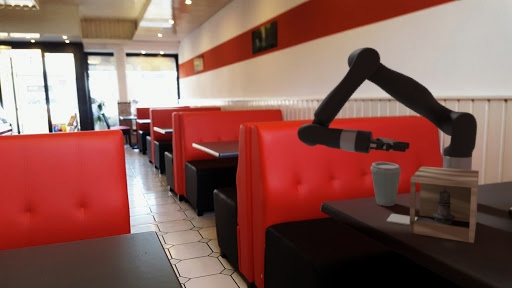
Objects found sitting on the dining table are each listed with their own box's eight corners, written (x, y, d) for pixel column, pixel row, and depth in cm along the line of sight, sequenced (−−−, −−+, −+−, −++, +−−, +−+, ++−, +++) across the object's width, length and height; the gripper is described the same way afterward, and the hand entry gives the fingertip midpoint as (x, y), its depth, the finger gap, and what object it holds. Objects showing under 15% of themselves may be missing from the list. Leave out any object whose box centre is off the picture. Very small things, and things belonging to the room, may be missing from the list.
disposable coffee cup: (406, 204, 136) (407, 164, 134) (388, 209, 130) (389, 167, 128) (382, 198, 145) (382, 160, 143) (363, 203, 139) (364, 163, 137)
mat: (391, 214, 125) (391, 213, 125) (417, 218, 120) (417, 217, 120) (386, 221, 118) (386, 220, 118) (413, 225, 114) (413, 224, 114)
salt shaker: (457, 230, 108) (459, 190, 107) (435, 230, 110) (437, 190, 108) (451, 224, 114) (452, 186, 113) (430, 223, 115) (431, 185, 114)
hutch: (419, 214, 124) (421, 166, 122) (476, 221, 116) (478, 170, 114) (409, 232, 108) (410, 177, 106) (473, 242, 99) (476, 183, 98)
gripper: (352, 130, 118) (406, 137, 110) (362, 128, 130) (411, 134, 123) (349, 154, 119) (403, 161, 111) (359, 149, 131) (408, 156, 124)
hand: (407, 147), depth 117 cm, fingers open, 8 cm apart
